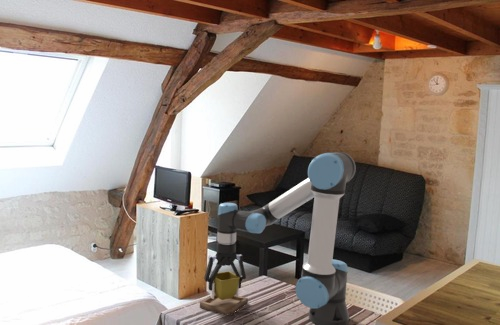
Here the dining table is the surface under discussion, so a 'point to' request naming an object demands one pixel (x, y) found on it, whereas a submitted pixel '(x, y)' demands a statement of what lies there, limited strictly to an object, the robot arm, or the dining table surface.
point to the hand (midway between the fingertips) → (224, 296)
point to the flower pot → (225, 285)
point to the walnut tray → (224, 304)
